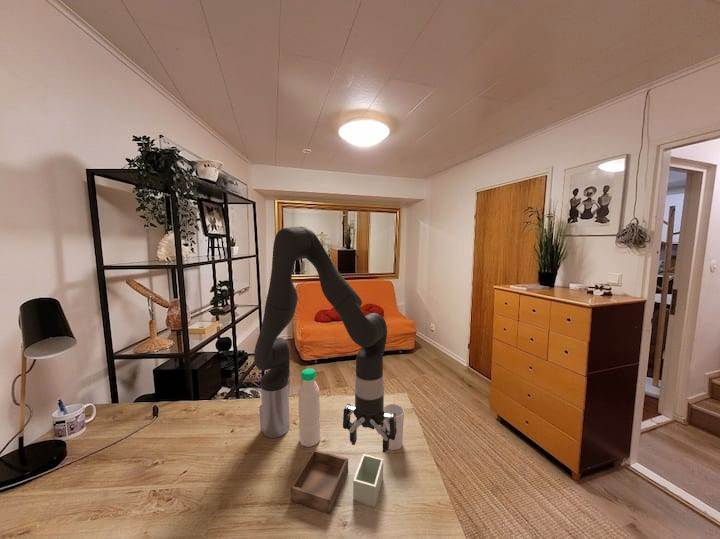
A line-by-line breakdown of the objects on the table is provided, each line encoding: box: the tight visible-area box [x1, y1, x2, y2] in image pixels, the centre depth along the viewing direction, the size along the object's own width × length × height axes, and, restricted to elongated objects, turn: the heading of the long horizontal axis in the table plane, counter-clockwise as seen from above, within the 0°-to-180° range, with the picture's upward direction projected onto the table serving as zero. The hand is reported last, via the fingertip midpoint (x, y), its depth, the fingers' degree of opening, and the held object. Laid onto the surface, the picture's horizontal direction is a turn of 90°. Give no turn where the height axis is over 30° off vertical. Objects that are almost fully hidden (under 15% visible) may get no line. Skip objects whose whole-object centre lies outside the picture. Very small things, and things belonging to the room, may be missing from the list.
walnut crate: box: [290, 449, 349, 515], centre depth 75 cm, size 11×13×4 cm
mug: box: [384, 402, 405, 451], centre depth 91 cm, size 10×7×12 cm, turn 171°
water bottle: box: [297, 368, 321, 448], centre depth 90 cm, size 7×7×25 cm
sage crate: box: [352, 453, 384, 508], centre depth 74 cm, size 6×9×6 cm, turn 162°
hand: (369, 446), depth 72 cm, fingers open, 8 cm apart
